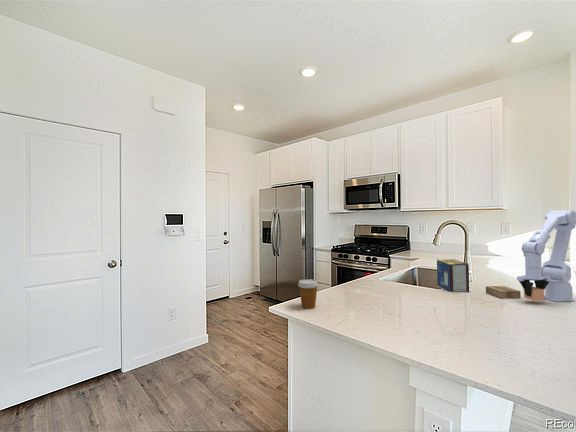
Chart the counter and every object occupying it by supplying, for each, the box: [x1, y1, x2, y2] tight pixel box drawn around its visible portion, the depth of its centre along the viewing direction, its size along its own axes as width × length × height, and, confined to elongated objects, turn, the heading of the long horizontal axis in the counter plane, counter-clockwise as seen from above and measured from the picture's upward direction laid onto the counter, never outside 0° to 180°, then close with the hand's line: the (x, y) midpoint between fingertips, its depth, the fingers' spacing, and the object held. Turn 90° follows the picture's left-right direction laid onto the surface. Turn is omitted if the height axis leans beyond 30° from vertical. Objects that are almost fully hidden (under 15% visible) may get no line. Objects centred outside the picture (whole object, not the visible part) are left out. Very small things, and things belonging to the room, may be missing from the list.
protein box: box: [436, 259, 470, 293], centre depth 155 cm, size 10×15×16 cm
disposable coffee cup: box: [297, 278, 319, 310], centre depth 127 cm, size 10×10×12 cm
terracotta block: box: [523, 286, 545, 302], centre depth 128 cm, size 5×5×5 cm
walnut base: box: [485, 285, 522, 300], centre depth 140 cm, size 10×10×4 cm
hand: (533, 295), depth 128 cm, fingers closed on terracotta block, 5 cm apart
